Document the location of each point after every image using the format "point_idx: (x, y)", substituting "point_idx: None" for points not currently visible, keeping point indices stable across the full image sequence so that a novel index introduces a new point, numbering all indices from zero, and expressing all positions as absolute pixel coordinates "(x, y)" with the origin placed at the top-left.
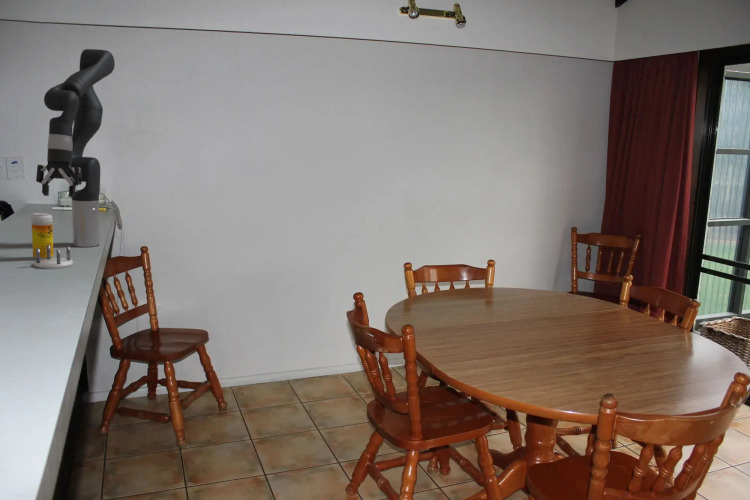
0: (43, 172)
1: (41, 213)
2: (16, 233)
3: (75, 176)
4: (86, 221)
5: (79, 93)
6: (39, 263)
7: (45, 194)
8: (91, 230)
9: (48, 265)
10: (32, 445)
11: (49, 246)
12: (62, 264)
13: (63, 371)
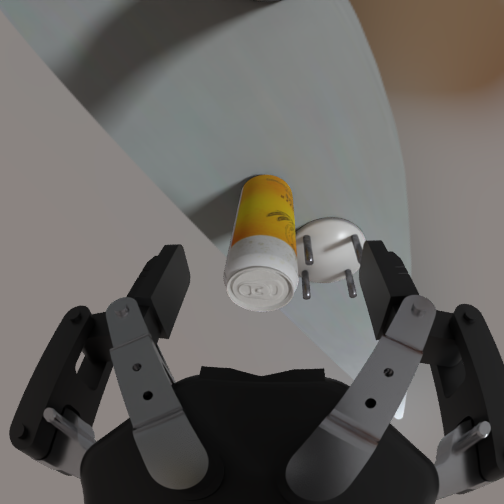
0: (61, 395)
1: (240, 271)
2: None
3: (446, 409)
4: None
5: None
6: (310, 276)
7: (188, 282)
8: None
9: (332, 281)
10: (400, 415)
11: (312, 261)
12: (355, 271)
13: (404, 402)
